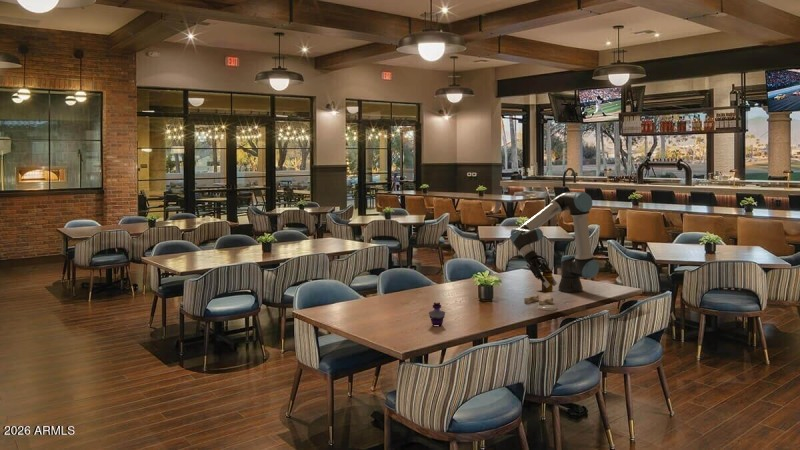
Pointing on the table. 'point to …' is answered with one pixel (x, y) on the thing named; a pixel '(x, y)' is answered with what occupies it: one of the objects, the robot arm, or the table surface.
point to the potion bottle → (437, 314)
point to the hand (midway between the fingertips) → (552, 285)
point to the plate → (547, 307)
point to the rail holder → (536, 298)
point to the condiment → (549, 278)
